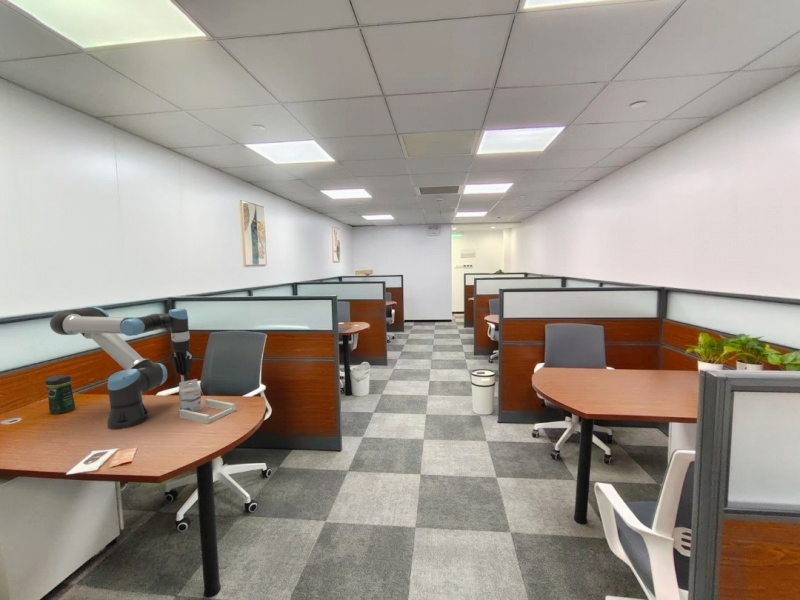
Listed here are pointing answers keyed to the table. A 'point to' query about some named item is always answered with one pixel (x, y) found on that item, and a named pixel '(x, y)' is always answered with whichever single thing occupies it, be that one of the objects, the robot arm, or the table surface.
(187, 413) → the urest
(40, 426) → the table surface
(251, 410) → the table surface
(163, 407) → the table surface
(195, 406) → the ink box
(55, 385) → the coffee jar
